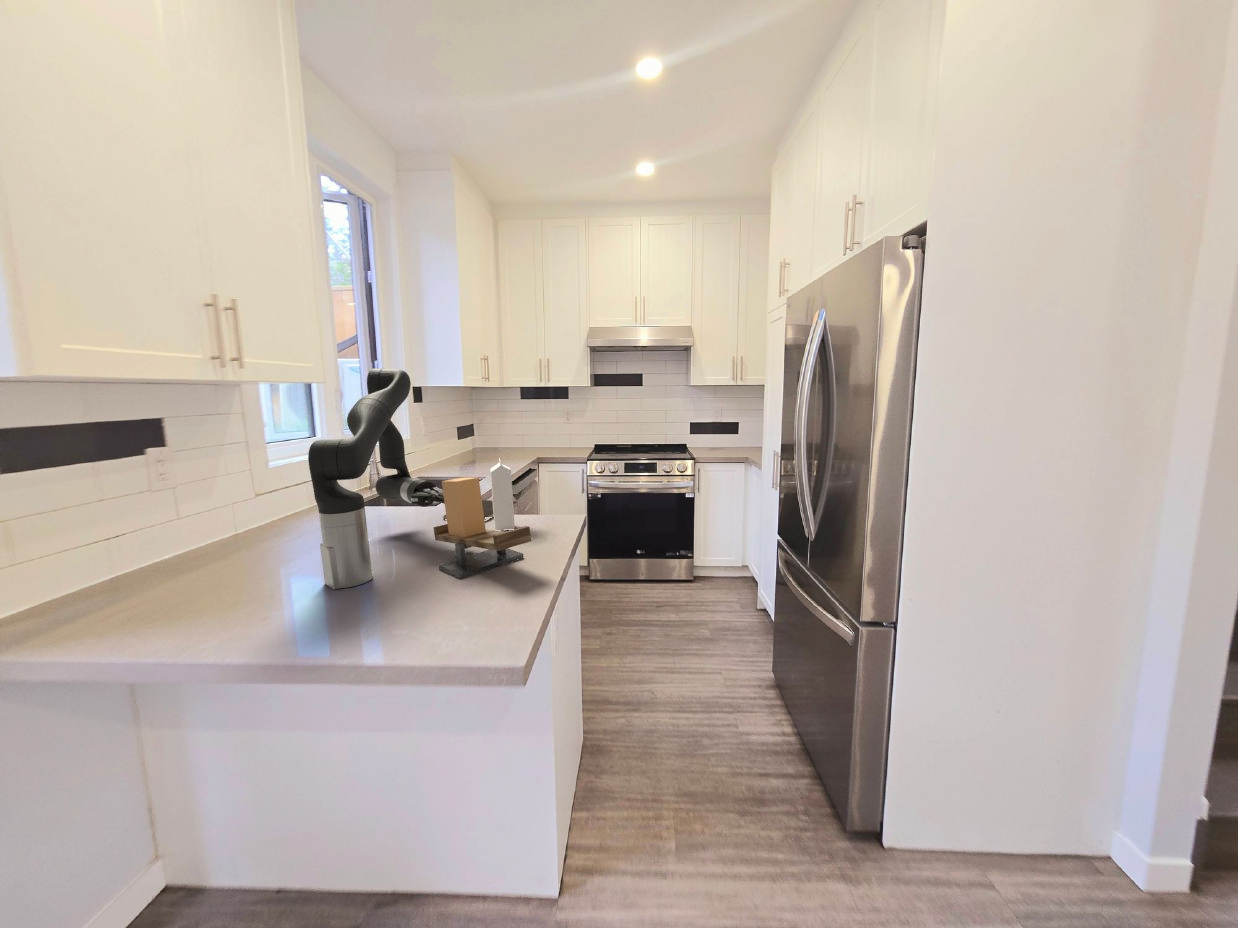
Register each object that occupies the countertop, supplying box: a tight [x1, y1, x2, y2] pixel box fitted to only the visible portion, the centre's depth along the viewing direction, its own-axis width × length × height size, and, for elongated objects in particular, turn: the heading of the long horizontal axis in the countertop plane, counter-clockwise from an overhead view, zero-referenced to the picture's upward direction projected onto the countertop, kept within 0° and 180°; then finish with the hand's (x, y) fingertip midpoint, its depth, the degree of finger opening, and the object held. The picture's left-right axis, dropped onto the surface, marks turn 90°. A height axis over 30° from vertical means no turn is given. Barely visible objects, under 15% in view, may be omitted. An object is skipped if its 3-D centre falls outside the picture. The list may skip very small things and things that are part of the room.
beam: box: [432, 523, 532, 551], centre depth 124 cm, size 30×9×4 cm, turn 47°
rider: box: [441, 477, 487, 537], centre depth 128 cm, size 6×8×14 cm
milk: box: [489, 457, 516, 531], centre depth 154 cm, size 6×6×22 cm
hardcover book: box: [443, 499, 518, 520], centre depth 177 cm, size 16×23×2 cm
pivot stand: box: [438, 543, 524, 580], centre depth 125 cm, size 10×18×6 cm, turn 137°
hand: (448, 499), depth 133 cm, fingers closed
